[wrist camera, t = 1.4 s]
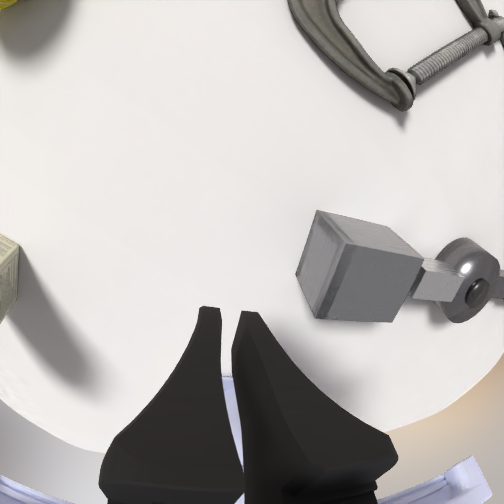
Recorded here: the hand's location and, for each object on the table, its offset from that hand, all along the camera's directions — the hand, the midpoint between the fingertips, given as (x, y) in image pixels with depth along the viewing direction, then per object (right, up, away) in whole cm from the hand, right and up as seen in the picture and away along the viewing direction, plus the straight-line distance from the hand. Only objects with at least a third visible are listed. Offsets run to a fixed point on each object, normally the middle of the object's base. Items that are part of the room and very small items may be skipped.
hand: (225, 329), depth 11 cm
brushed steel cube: (+8, +3, +10) cm, 13 cm away
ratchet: (+25, 0, +14) cm, 28 cm away
